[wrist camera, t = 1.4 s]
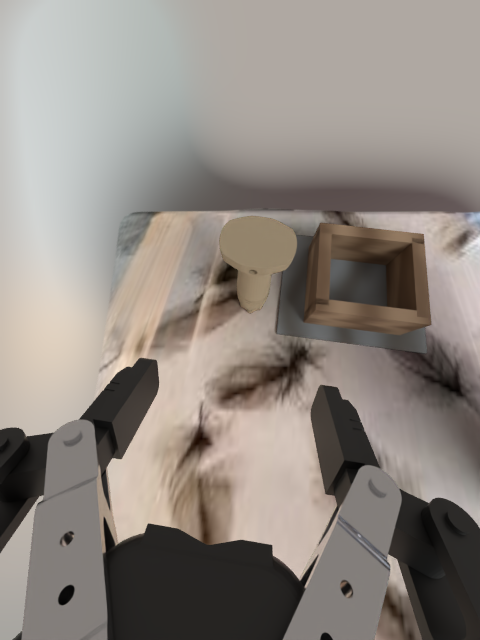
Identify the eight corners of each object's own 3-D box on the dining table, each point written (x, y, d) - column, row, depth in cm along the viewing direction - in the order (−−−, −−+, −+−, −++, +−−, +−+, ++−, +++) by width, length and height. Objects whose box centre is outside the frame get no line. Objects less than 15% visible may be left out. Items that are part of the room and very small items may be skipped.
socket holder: (417, 250, 36) (450, 223, 30) (424, 353, 32) (465, 346, 26) (286, 235, 37) (294, 207, 31) (276, 333, 32) (283, 322, 27)
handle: (232, 284, 35) (225, 211, 20) (275, 291, 34) (300, 222, 20) (226, 315, 33) (214, 261, 19) (271, 322, 33) (293, 273, 19)
